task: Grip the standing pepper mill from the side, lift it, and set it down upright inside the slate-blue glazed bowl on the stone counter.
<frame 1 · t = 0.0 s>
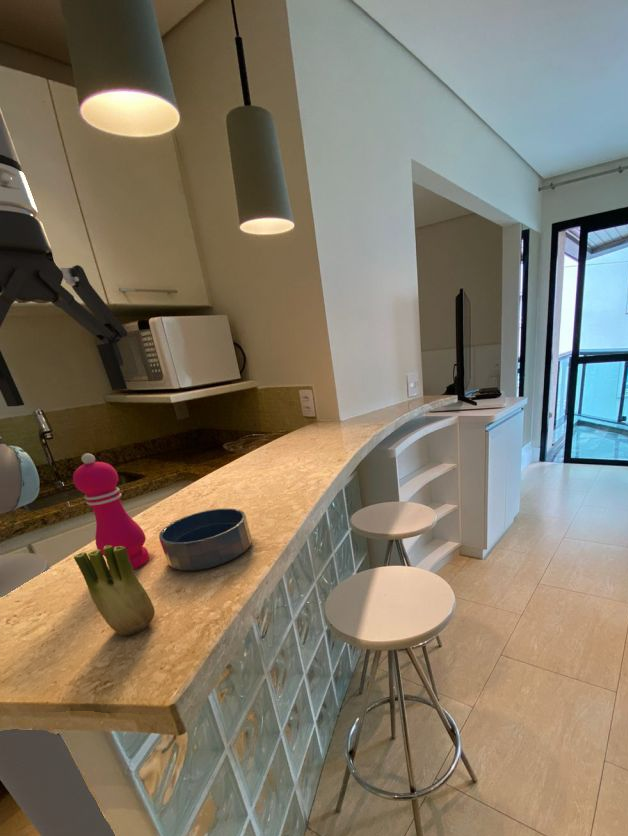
hand: (73, 397, 57), 29 cm above the counter, tool pointing down, fingers open, 13 cm apart
pepper mill: (130, 564, 72), on the counter
bowl: (212, 552, 73), on the counter
fennel bulb: (135, 628, 54), on the counter
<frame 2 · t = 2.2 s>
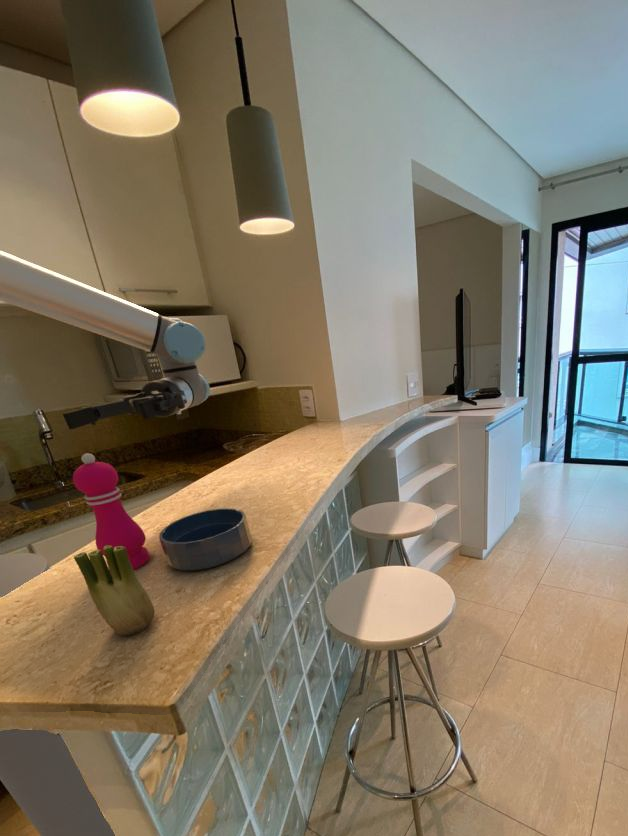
hand: (105, 416, 70), 24 cm above the counter, tool horizontal, fingers open, 13 cm apart
nothing on the counter moved.
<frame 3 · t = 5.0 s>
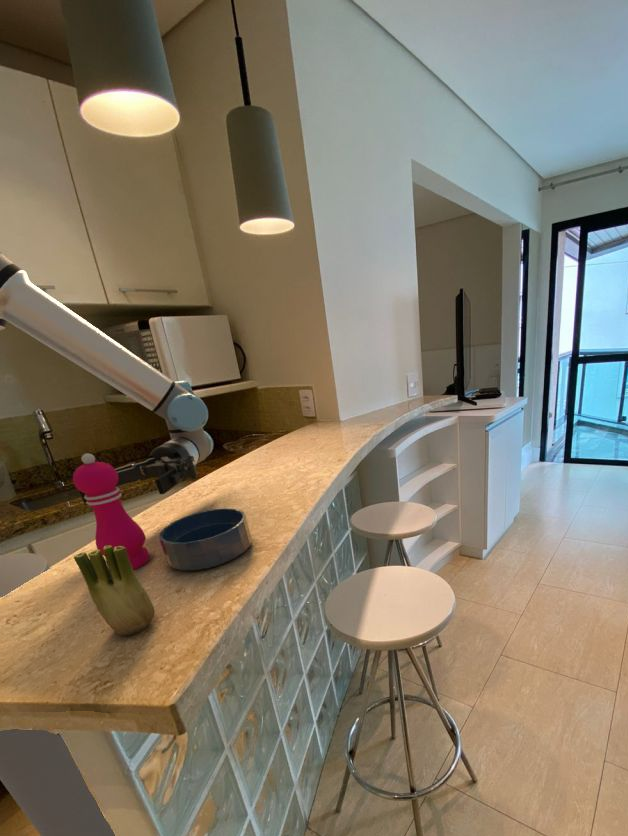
hand: (121, 491, 72), 12 cm above the counter, tool horizontal, fingers open, 13 cm apart
nothing on the counter moved.
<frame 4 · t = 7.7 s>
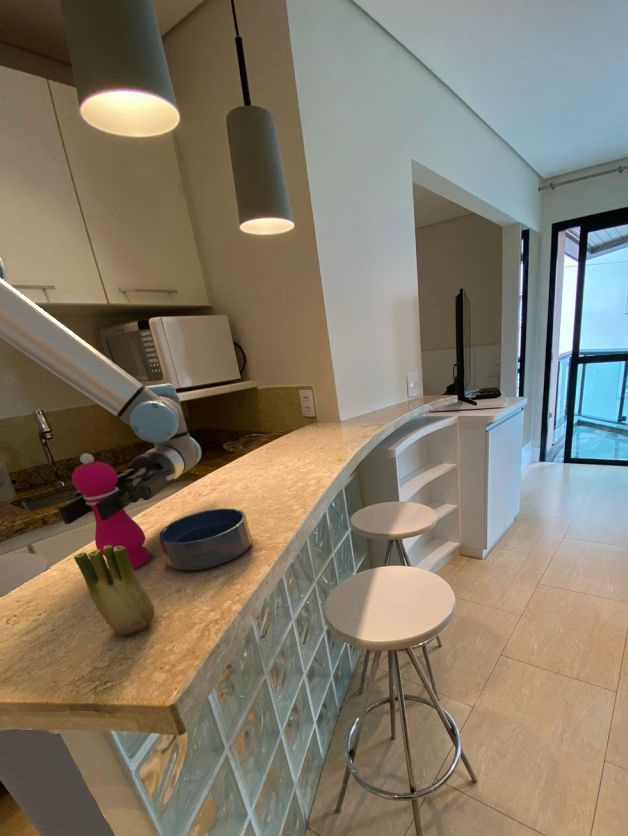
hand: (82, 513, 62), 12 cm above the counter, tool horizontal, fingers closed on pepper mill, 5 cm apart
pepper mill: (130, 564, 72), on the counter, touching gripper
everything else where it was.
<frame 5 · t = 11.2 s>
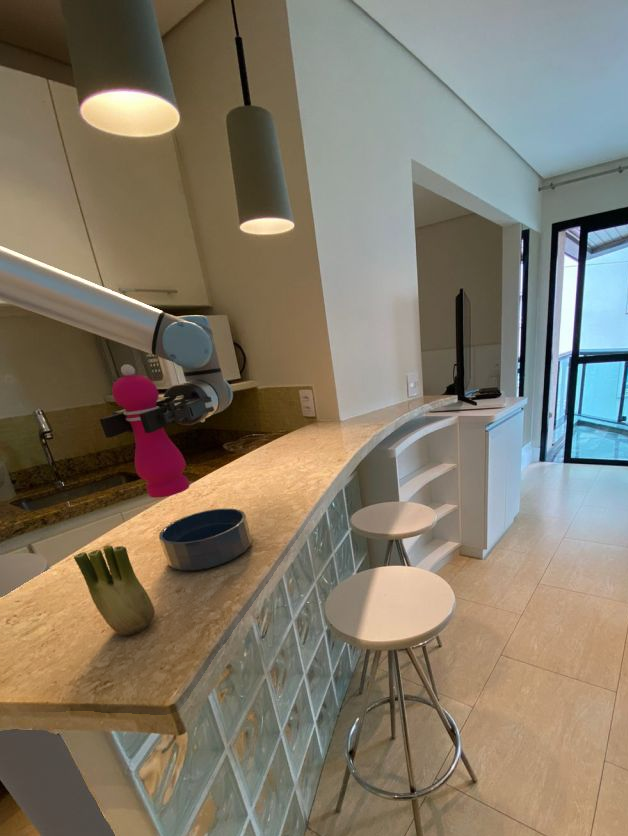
hand: (125, 425, 58), 24 cm above the counter, tool horizontal, fingers closed on pepper mill, 5 cm apart
pepper mill: (170, 492, 68), point 12 cm above the counter, touching gripper
everything else where it was.
when the fingers open (13 cm above the counter, at t = 15.1 s): pepper mill stays where it is, resting on bowl.
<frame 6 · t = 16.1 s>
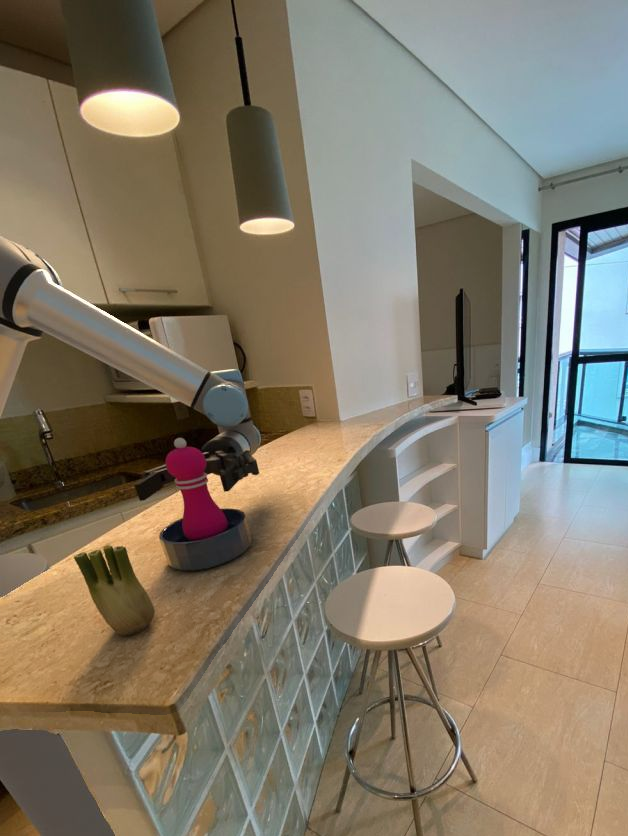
hand: (181, 488, 64), 13 cm above the counter, tool horizontal, fingers open, 13 cm apart
pepper mill: (212, 549, 73), resting on bowl
everything else where it was.
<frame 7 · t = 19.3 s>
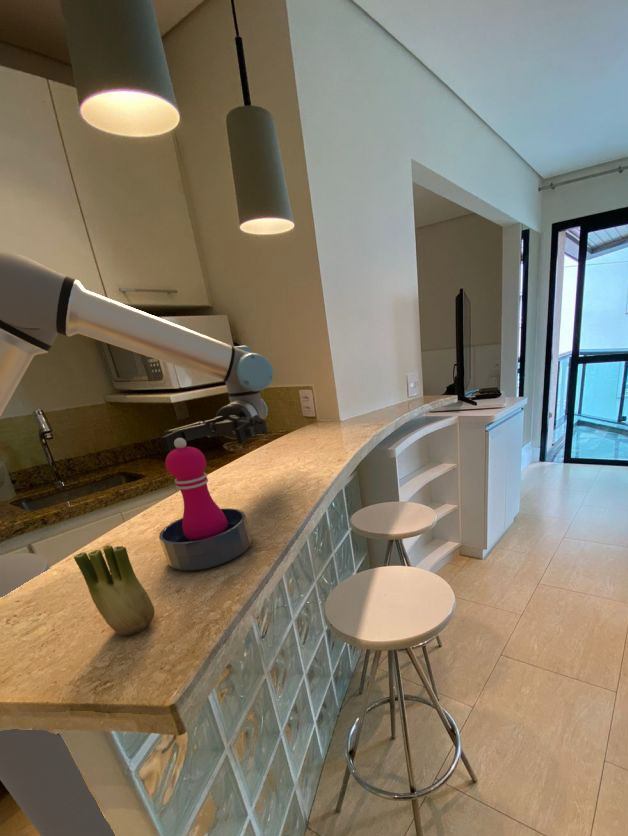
hand: (201, 440, 75), 18 cm above the counter, tool horizontal, fingers open, 13 cm apart
nothing on the counter moved.
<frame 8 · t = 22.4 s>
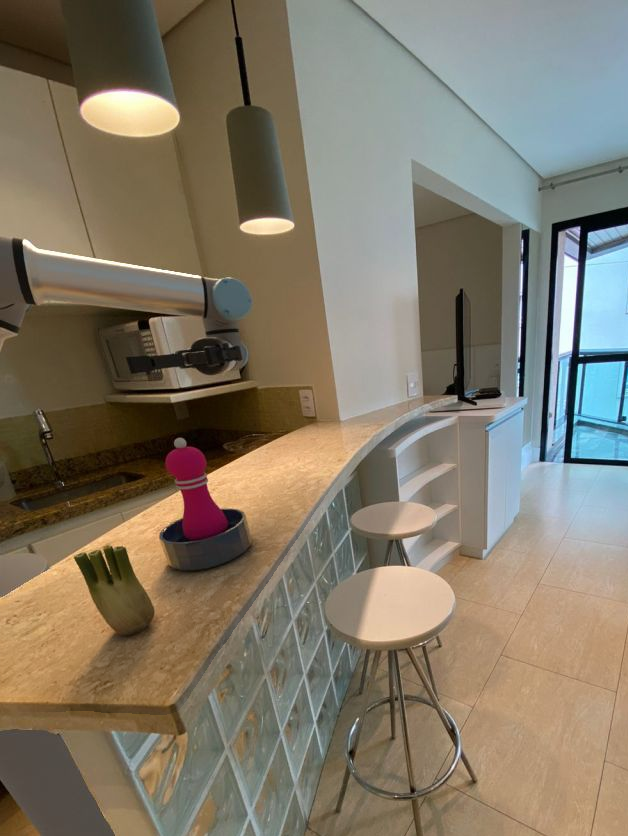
hand: (169, 360, 70), 32 cm above the counter, tool horizontal, fingers open, 13 cm apart
nothing on the counter moved.
at the end: pepper mill 0.3 cm off-centre in the bowl, point 0.4 cm above the bowl's base; pepper mill tilted 0°; the gripper is holding nothing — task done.
